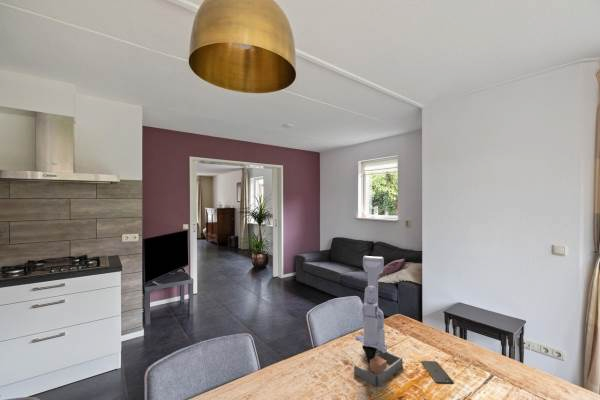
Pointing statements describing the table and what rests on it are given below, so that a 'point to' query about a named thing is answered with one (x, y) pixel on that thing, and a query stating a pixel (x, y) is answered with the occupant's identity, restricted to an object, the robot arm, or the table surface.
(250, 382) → the table surface
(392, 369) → the box
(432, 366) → the smartphone
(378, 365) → the terracotta block
